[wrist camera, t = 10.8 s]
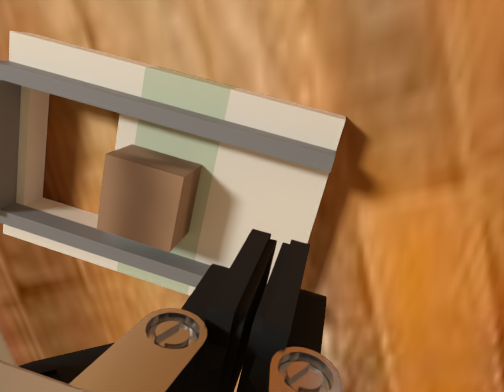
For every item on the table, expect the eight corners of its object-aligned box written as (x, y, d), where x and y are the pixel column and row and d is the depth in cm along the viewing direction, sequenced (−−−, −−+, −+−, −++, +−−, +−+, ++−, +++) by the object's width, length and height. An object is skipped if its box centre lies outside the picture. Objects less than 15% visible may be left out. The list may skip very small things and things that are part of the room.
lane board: (345, 116, 32) (345, 125, 27) (285, 310, 38) (276, 348, 33) (32, 33, 35) (-22, 27, 30) (22, 223, 41) (-24, 246, 36)
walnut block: (202, 164, 33) (184, 177, 29) (188, 232, 35) (169, 252, 31) (132, 144, 34) (105, 153, 30) (122, 211, 36) (96, 228, 32)
